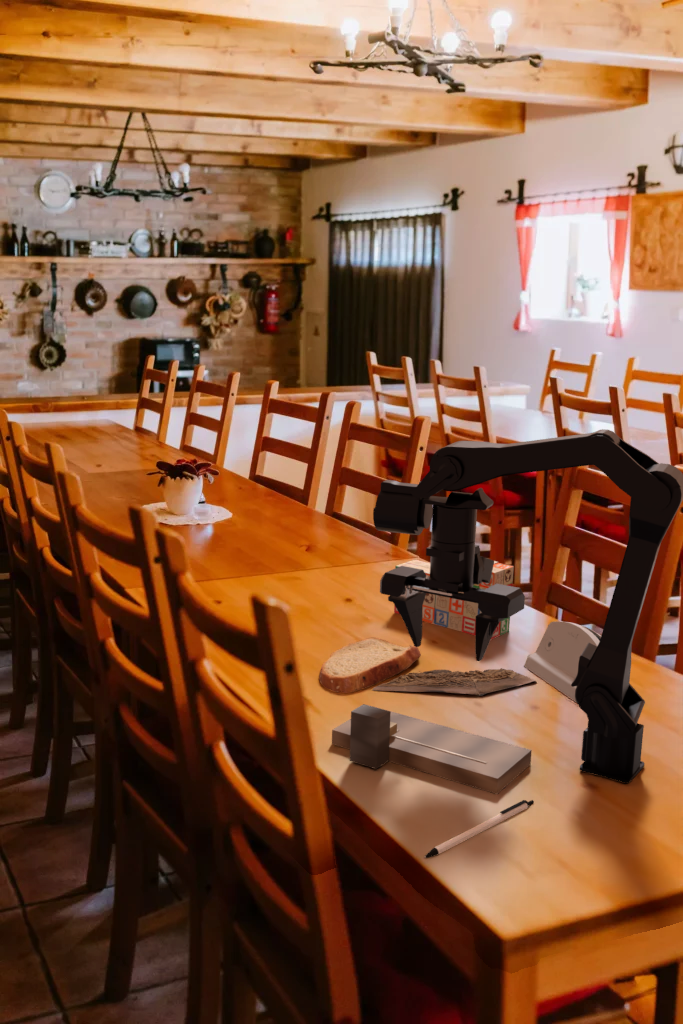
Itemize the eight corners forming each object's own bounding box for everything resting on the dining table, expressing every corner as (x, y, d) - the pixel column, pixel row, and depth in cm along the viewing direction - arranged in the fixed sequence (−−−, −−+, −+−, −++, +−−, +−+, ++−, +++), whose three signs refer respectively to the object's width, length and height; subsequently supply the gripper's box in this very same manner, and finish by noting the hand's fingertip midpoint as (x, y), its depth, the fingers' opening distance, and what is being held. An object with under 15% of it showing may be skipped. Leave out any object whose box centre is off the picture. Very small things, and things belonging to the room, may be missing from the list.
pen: (535, 806, 128) (535, 797, 128) (427, 862, 115) (427, 852, 115) (529, 803, 129) (529, 795, 129) (421, 859, 116) (421, 849, 116)
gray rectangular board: (530, 764, 139) (531, 749, 138) (496, 794, 131) (497, 777, 130) (371, 719, 152) (372, 705, 151) (331, 743, 143) (332, 728, 143)
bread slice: (325, 696, 161) (326, 672, 160) (305, 654, 178) (306, 633, 177) (442, 690, 164) (443, 666, 163) (411, 650, 181) (412, 628, 181)
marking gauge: (404, 750, 141) (406, 701, 140) (376, 769, 136) (378, 719, 134) (377, 742, 143) (379, 694, 142) (349, 760, 138) (351, 711, 136)
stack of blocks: (392, 613, 200) (395, 549, 197) (412, 606, 204) (415, 543, 202) (491, 640, 186) (495, 571, 184) (510, 632, 191) (514, 564, 188)
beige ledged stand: (522, 665, 174) (545, 607, 173) (546, 672, 176) (568, 615, 175) (578, 704, 159) (603, 641, 158) (603, 711, 161) (628, 648, 160)
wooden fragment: (525, 670, 173) (525, 664, 172) (547, 697, 162) (547, 690, 162) (365, 675, 169) (365, 669, 169) (377, 703, 159) (377, 696, 158)
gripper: (545, 538, 142) (537, 651, 145) (420, 518, 152) (416, 624, 155) (509, 555, 133) (502, 675, 136) (379, 532, 143) (376, 645, 146)
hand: (448, 653), depth 144 cm, fingers open, 9 cm apart
